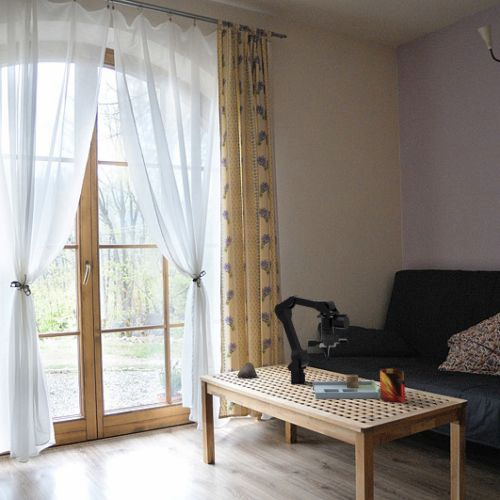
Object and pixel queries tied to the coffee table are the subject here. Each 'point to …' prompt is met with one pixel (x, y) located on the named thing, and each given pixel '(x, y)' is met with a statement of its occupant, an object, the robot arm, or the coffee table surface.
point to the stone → (247, 371)
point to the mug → (392, 385)
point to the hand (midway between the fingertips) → (328, 361)
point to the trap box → (345, 390)
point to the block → (352, 381)
